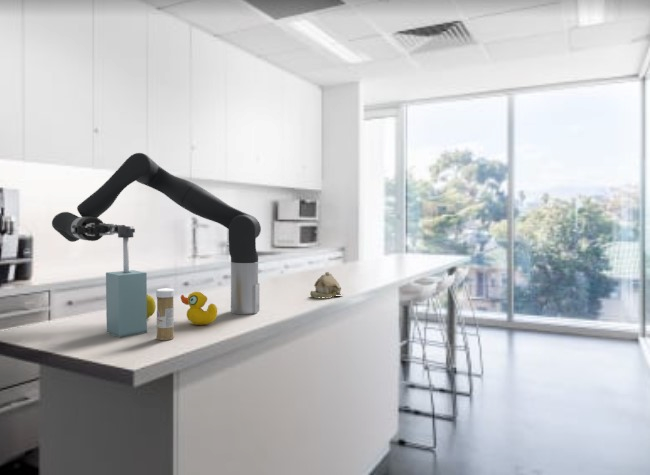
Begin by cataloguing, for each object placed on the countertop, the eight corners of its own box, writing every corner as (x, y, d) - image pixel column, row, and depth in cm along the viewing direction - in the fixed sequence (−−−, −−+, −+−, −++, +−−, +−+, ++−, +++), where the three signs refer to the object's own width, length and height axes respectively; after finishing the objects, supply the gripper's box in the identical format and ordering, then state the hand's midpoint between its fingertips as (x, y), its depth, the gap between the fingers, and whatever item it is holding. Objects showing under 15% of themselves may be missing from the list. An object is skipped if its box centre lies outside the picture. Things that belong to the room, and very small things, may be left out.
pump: (116, 277, 139) (115, 226, 138) (129, 276, 142) (129, 226, 141) (126, 280, 135) (125, 227, 134) (140, 279, 138) (140, 226, 137)
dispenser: (106, 332, 140) (105, 272, 139) (134, 327, 146) (133, 270, 145) (119, 337, 135) (118, 275, 134) (146, 332, 140) (146, 272, 139)
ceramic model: (324, 293, 212) (325, 269, 211) (347, 295, 206) (347, 271, 205) (305, 297, 200) (305, 273, 199) (328, 300, 194) (329, 275, 193)
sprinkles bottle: (153, 338, 134) (152, 289, 133) (168, 335, 137) (167, 287, 137) (162, 341, 131) (162, 291, 130) (177, 338, 134) (177, 289, 134)
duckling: (177, 325, 149) (177, 292, 148) (184, 321, 154) (184, 289, 154) (213, 327, 147) (213, 294, 147) (219, 323, 153) (219, 291, 152)
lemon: (159, 318, 159) (159, 293, 159) (147, 321, 154) (147, 296, 153) (145, 316, 161) (144, 292, 160) (133, 320, 156) (132, 294, 155)
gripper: (63, 216, 152) (83, 217, 141) (110, 216, 162) (132, 217, 151) (63, 241, 152) (84, 244, 141) (110, 239, 163) (132, 242, 152)
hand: (109, 230), depth 146 cm, fingers open, 8 cm apart
